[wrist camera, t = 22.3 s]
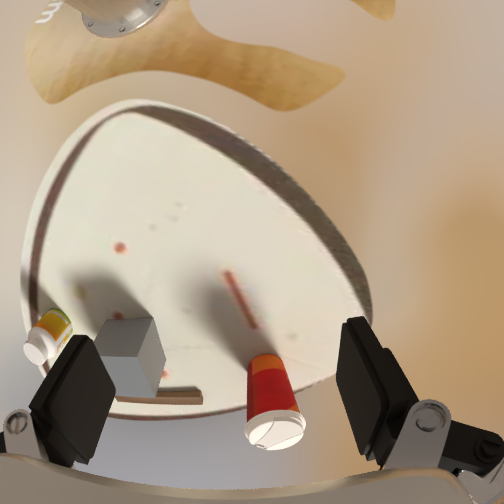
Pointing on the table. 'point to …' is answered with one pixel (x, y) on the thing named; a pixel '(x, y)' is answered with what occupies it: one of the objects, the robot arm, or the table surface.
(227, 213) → the table surface
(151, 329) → the grey matte cube
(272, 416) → the paper cup
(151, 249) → the table surface
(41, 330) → the supplement bottle
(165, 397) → the long brown rectangular bar
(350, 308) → the table surface
